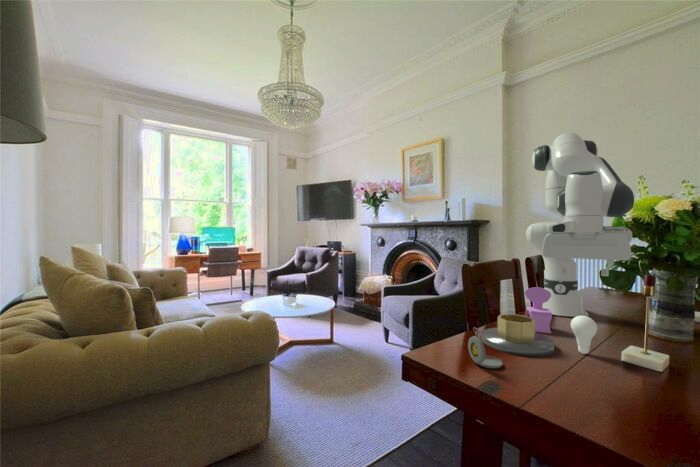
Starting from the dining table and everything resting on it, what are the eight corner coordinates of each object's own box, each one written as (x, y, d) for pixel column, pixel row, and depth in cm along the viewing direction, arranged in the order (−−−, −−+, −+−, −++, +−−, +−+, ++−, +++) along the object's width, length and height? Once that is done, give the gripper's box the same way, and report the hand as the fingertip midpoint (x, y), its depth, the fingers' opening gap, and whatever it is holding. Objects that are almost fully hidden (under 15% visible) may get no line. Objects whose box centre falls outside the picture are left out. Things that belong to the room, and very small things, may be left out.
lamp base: (488, 329, 110) (488, 307, 110) (555, 340, 99) (555, 316, 99) (475, 346, 94) (475, 320, 94) (553, 362, 82) (553, 332, 82)
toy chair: (528, 332, 108) (528, 289, 108) (523, 325, 116) (523, 285, 116) (555, 335, 105) (555, 291, 105) (549, 327, 113) (549, 287, 113)
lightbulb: (602, 359, 85) (602, 319, 85) (577, 357, 86) (577, 318, 86) (589, 350, 91) (589, 313, 91) (566, 349, 92) (566, 312, 92)
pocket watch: (506, 364, 81) (506, 326, 81) (493, 374, 75) (493, 334, 75) (475, 355, 87) (475, 320, 87) (462, 364, 81) (462, 326, 81)
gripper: (630, 226, 85) (630, 276, 85) (543, 227, 97) (543, 271, 96) (634, 225, 80) (634, 278, 80) (541, 226, 91) (541, 273, 91)
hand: (583, 274), depth 88 cm, fingers open, 8 cm apart
